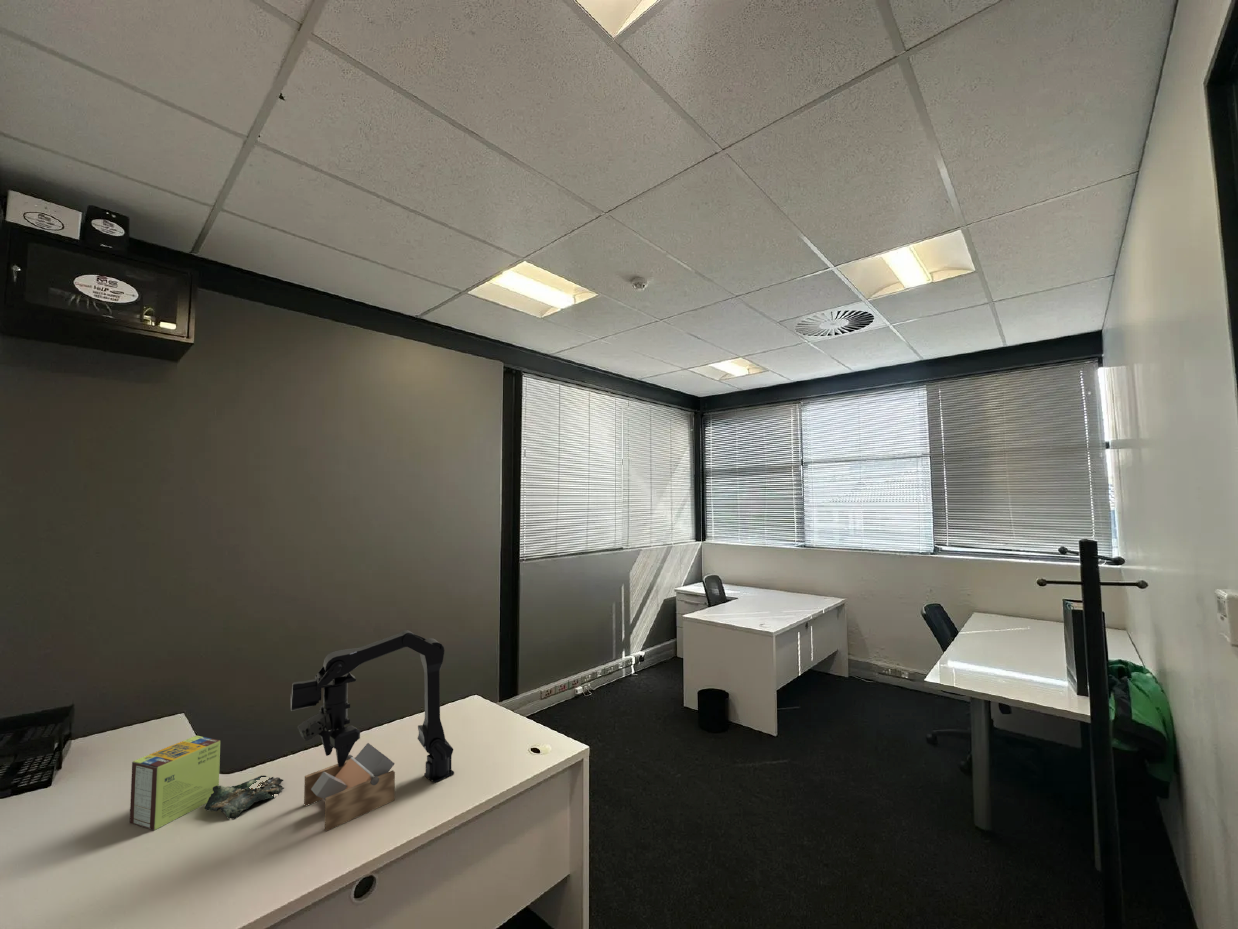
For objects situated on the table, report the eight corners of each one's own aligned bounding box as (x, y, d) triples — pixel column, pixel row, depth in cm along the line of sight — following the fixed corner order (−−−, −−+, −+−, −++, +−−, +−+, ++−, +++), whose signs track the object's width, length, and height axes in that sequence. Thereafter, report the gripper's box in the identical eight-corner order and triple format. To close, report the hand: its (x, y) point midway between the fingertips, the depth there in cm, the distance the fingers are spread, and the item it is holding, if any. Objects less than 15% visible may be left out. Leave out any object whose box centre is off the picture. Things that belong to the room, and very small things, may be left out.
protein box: (219, 797, 142) (221, 739, 143) (153, 831, 127) (156, 767, 128) (194, 790, 145) (196, 734, 146) (127, 823, 130) (130, 761, 132)
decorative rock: (254, 764, 152) (299, 763, 150) (253, 786, 151) (299, 785, 149) (192, 797, 133) (243, 796, 131) (191, 823, 132) (242, 822, 130)
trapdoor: (375, 749, 150) (365, 740, 148) (396, 765, 141) (386, 756, 139) (332, 801, 141) (320, 793, 139) (351, 822, 132) (339, 814, 130)
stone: (341, 780, 139) (323, 771, 136) (347, 786, 136) (329, 777, 133) (328, 797, 136) (310, 789, 133) (335, 804, 133) (316, 795, 130)
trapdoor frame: (368, 777, 150) (368, 747, 151) (395, 801, 138) (395, 768, 139) (303, 803, 138) (304, 771, 138) (327, 832, 125) (327, 796, 126)
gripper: (290, 701, 137) (289, 761, 136) (314, 720, 125) (312, 786, 123) (335, 689, 145) (334, 745, 144) (361, 706, 133) (360, 768, 132)
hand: (334, 760), depth 136 cm, fingers open, 9 cm apart
